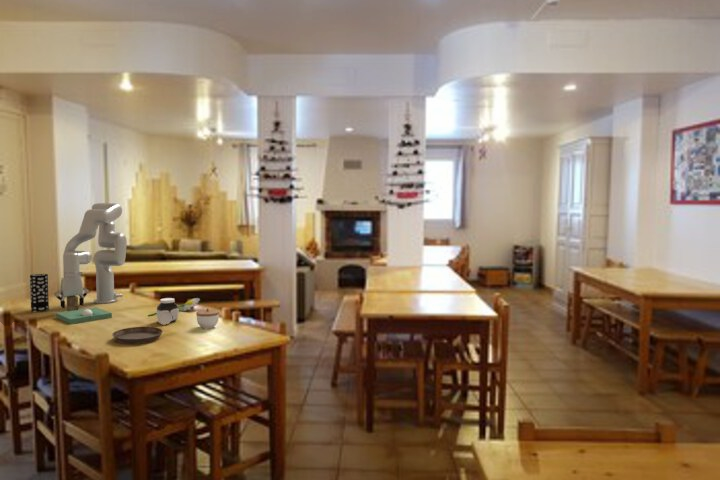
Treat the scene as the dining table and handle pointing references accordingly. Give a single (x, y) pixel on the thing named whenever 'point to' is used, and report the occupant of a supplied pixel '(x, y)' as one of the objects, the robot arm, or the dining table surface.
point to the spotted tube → (39, 292)
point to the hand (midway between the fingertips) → (72, 306)
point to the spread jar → (167, 311)
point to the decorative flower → (185, 305)
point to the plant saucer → (137, 335)
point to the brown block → (72, 303)
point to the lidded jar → (207, 318)
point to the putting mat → (77, 316)
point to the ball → (87, 312)
